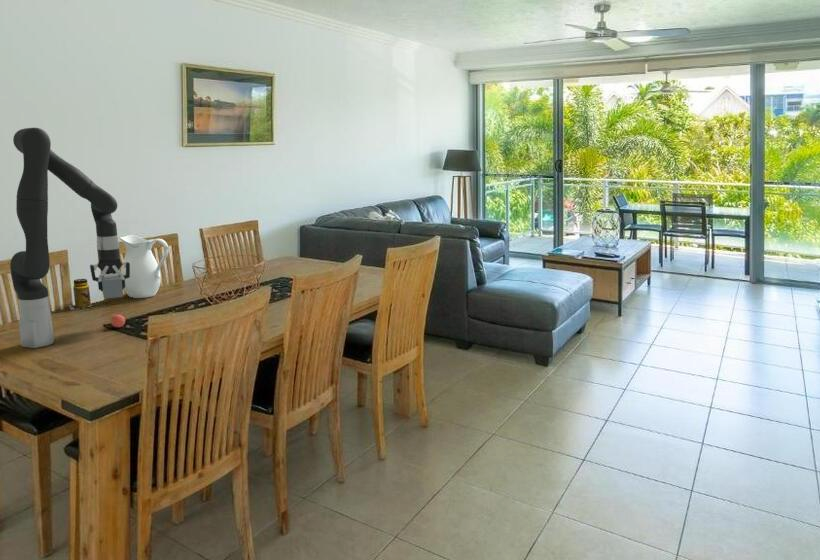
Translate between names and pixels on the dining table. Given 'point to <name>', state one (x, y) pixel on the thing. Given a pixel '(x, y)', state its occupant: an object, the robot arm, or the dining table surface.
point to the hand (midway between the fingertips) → (112, 289)
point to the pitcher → (142, 266)
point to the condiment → (81, 294)
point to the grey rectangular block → (112, 286)
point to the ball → (118, 321)
